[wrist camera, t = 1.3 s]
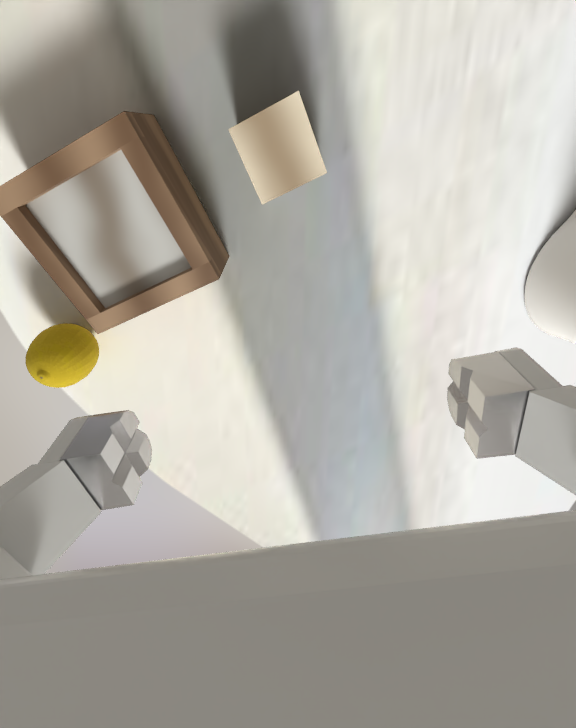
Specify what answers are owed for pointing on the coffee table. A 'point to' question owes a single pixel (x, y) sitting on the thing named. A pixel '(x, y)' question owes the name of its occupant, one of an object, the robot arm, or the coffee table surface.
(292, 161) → the ash block
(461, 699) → the robot arm
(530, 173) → the coffee table surface
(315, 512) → the coffee table surface
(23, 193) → the walnut frame
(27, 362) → the lemon
